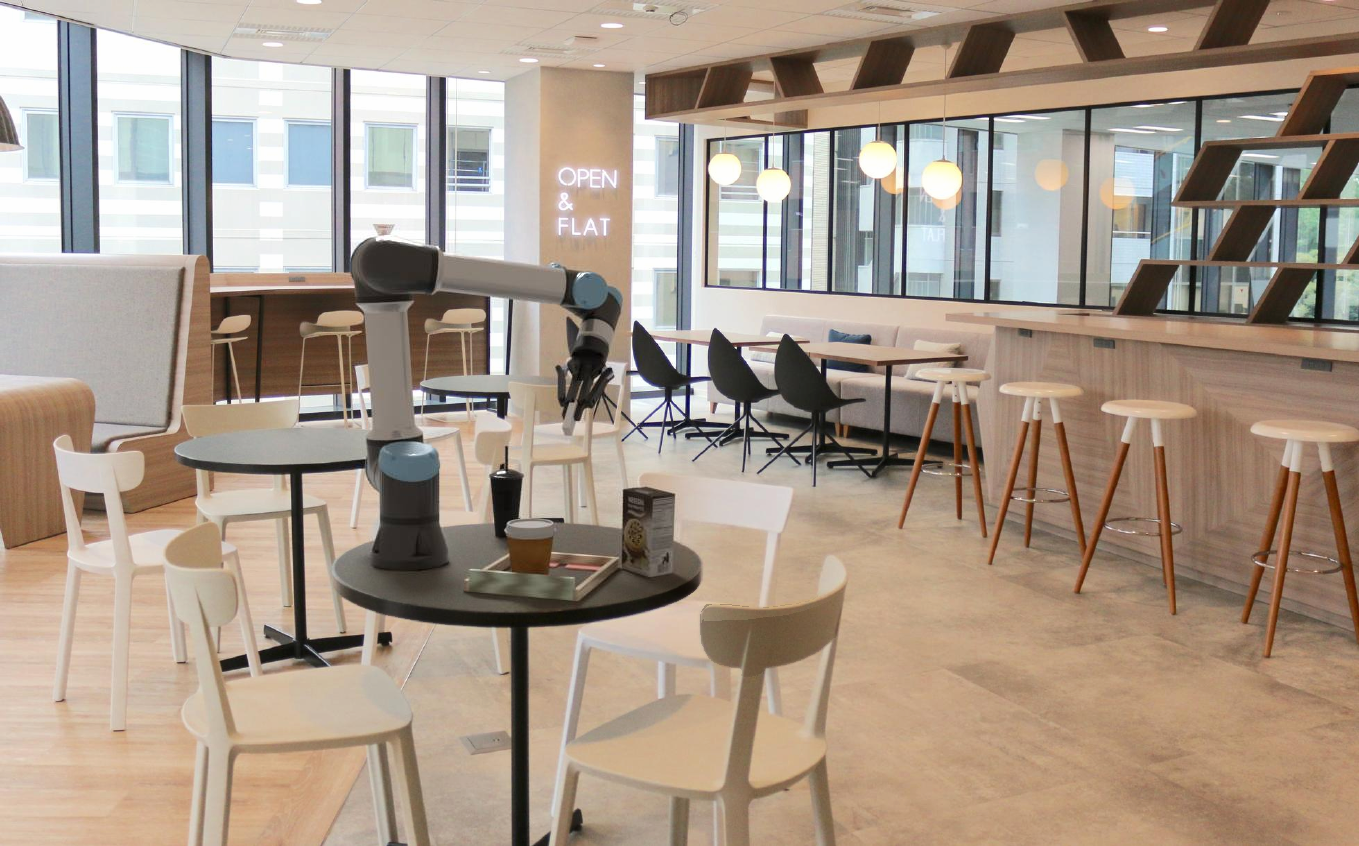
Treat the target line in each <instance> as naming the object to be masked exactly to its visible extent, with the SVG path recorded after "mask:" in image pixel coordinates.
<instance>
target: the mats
mask: <svg viewBox="0 0 1359 846" xmlns="http://www.w3.org/2000/svg"><path fill="white" fill-rule="evenodd" d="M560 565H562V564H561V562H551V561H550V567H549V568H553V569H554V568H557V567H558V566H560ZM601 567H603V566H601V565H588V564H576V563H569V564H566V565H565V566H564V569H565V570H577V571H587V572H588V571H590V572H592V571H593V572H596V571H598V570H599V569H600V568H601Z"/></svg>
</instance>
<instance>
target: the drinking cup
mask: <svg viewBox="0 0 1359 846" xmlns="http://www.w3.org/2000/svg"><path fill="white" fill-rule="evenodd" d="M524 477H525V474H524V473H522V472H520V471H518V470H515V469H513V468H509V446H508V445H505V446H504V468H502V469H498V470H496V471H494V472H491V473H489V475H488V478H489V479H490V490H491V502H492V515H493V522H494V523H493V524H494V535H495V537H498V538H507V536H506V533H505V531H504V530H505V528H506V526H507V523H508V522H509V521H512V520H516V519H520V511H521V510H520V509H521V499H522V498H521V497H522V488H523V478H524Z"/></svg>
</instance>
